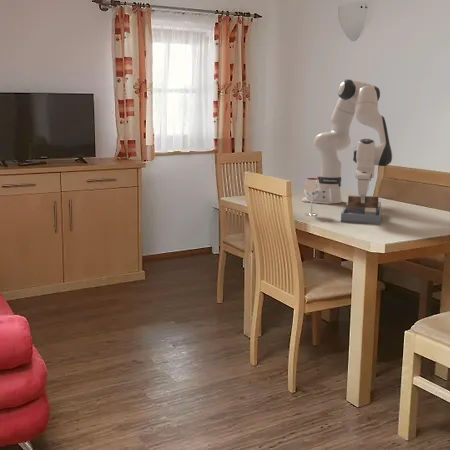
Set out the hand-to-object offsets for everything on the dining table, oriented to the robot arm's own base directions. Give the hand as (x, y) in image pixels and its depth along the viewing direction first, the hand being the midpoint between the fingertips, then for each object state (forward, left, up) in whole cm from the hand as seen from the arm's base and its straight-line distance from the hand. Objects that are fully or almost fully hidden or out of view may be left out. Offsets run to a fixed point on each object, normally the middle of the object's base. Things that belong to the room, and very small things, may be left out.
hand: (363, 202), depth 293 cm
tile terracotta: (-4, -4, -5) cm, 8 cm away
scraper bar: (0, 0, -2) cm, 2 cm away
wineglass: (-25, +3, -9) cm, 27 cm away
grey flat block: (0, +10, -8) cm, 13 cm away
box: (0, -3, -8) cm, 9 cm away
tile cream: (+4, 0, -4) cm, 6 cm away
